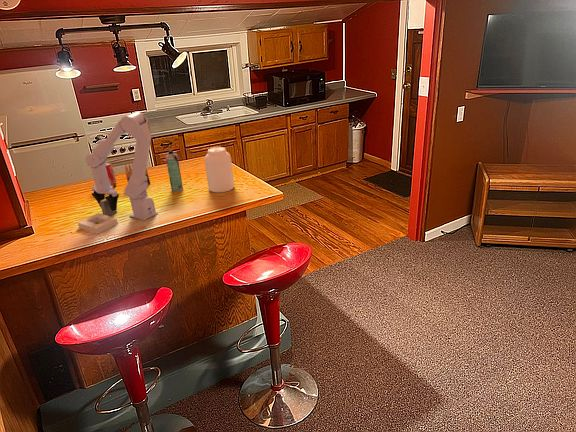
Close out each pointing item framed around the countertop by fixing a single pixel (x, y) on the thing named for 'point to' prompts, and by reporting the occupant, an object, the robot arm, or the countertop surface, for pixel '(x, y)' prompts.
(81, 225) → the socket block
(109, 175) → the soda can
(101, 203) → the key peg
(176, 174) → the spray can
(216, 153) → the white plastic jar
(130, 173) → the ammunition clip
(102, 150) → the robot arm
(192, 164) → the countertop surface
